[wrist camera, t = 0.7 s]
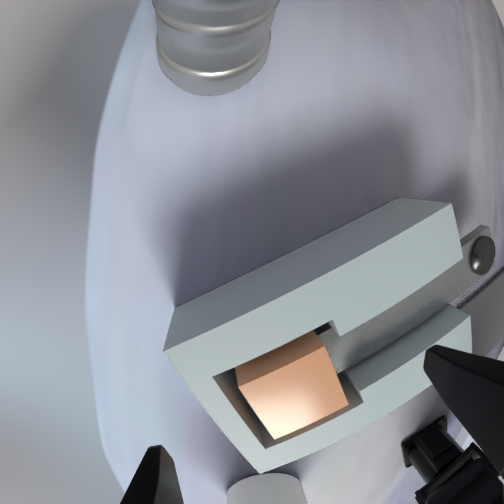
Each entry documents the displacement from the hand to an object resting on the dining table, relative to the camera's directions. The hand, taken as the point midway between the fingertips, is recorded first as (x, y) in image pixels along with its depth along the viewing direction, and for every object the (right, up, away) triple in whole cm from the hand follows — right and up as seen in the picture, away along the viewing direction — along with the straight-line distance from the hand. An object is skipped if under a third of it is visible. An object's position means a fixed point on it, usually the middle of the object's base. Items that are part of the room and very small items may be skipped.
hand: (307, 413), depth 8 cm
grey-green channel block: (+4, 0, +14) cm, 14 cm away
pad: (+23, -3, +17) cm, 29 cm away
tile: (+1, -3, +10) cm, 10 cm away
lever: (+8, +1, +11) cm, 14 cm away
